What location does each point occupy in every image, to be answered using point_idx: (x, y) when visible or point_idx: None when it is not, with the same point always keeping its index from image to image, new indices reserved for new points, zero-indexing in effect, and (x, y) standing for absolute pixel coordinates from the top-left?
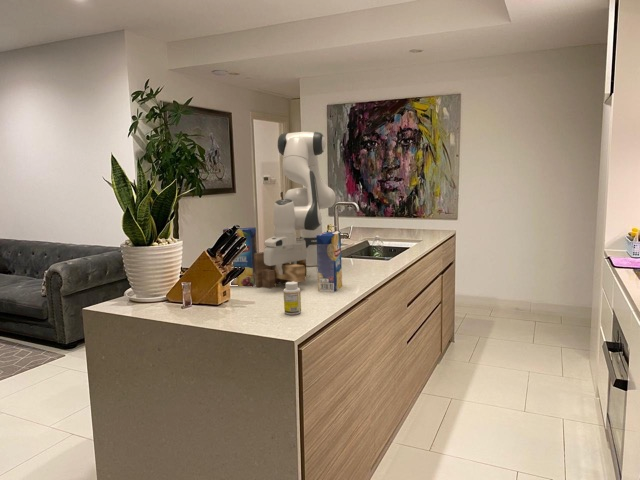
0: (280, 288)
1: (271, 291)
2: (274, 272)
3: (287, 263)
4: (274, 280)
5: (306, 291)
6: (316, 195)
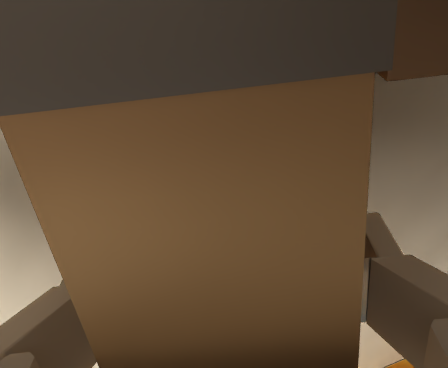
0: None
1: (6, 185)
2: None
3: (298, 364)
4: None
5: None
6: None
